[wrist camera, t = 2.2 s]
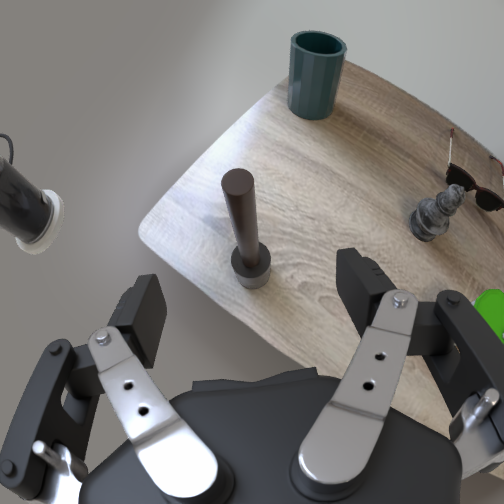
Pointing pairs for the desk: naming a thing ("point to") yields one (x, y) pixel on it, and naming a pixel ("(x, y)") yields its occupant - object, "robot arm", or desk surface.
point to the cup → (492, 310)
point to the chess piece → (436, 213)
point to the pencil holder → (314, 73)
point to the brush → (245, 230)
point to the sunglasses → (473, 185)
